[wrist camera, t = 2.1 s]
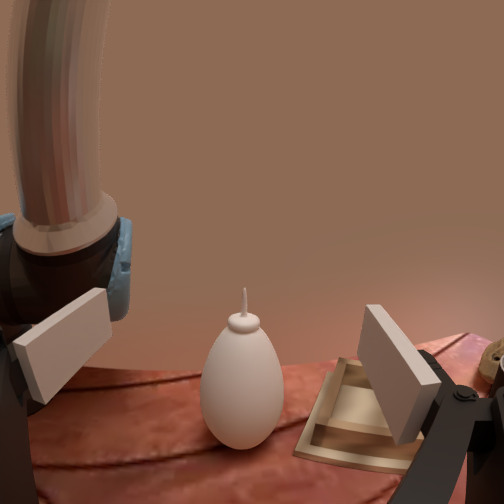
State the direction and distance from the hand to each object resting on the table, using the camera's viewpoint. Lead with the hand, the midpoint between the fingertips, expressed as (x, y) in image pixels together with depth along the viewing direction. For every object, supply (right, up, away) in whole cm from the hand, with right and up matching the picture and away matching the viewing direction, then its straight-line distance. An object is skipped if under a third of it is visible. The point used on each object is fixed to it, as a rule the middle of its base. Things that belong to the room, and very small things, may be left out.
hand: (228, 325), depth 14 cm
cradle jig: (+16, -17, +16) cm, 28 cm away
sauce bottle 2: (0, -17, +14) cm, 22 cm away
